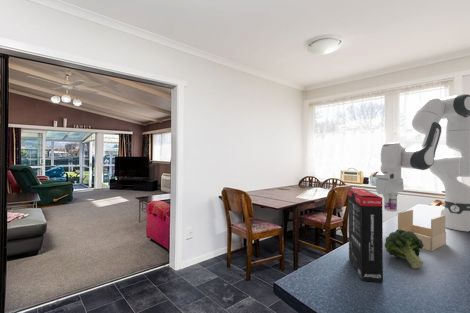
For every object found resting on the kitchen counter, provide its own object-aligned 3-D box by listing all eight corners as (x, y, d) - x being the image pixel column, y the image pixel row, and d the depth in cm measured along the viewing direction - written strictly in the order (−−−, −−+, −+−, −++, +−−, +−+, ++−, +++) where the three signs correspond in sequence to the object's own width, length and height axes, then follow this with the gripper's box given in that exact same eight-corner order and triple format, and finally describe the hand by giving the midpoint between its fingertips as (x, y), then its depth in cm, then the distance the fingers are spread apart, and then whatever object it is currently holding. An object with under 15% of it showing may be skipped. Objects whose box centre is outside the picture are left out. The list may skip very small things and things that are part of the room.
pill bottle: (381, 209, 126) (381, 190, 126) (391, 209, 126) (391, 190, 126) (389, 212, 120) (389, 192, 120) (399, 211, 121) (399, 192, 121)
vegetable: (391, 263, 85) (373, 231, 98) (408, 283, 88) (389, 250, 102) (426, 247, 80) (403, 217, 94) (444, 269, 84) (419, 237, 97)
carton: (412, 235, 120) (412, 209, 120) (445, 244, 109) (446, 215, 109) (396, 241, 112) (397, 213, 112) (431, 251, 101) (432, 219, 101)
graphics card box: (384, 284, 75) (385, 196, 75) (360, 282, 76) (360, 195, 76) (366, 260, 92) (366, 188, 91) (346, 259, 93) (347, 187, 93)
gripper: (394, 173, 131) (393, 199, 131) (373, 174, 120) (373, 202, 121) (407, 174, 126) (407, 201, 126) (387, 175, 115) (386, 205, 115)
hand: (390, 201), depth 123 cm, fingers closed on pill bottle, 5 cm apart
